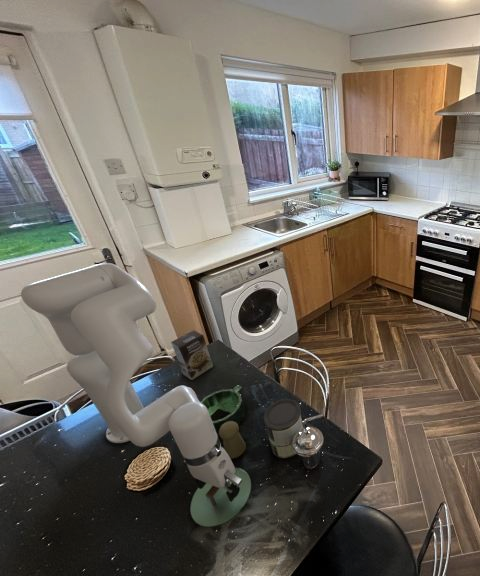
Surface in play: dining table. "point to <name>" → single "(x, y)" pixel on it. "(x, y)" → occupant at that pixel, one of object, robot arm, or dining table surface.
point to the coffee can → (283, 426)
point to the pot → (225, 405)
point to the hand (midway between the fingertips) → (219, 489)
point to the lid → (219, 502)
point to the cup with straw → (308, 443)
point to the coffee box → (192, 354)
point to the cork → (232, 439)
